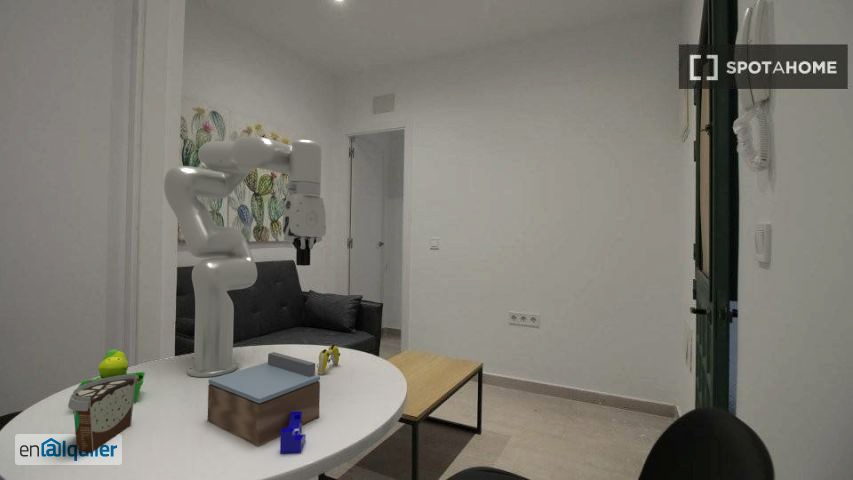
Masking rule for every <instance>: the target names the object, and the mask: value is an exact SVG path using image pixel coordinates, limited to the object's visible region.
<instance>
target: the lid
mask: <svg viewBox="0 0 853 480" xmlns="http://www.w3.org/2000/svg"><path fill="white" fill-rule="evenodd" d="M320 380H321V376H320V375H316V362H312V361H308V360H305V359H301V358H297V357H294V356H290V355H286V354H282V353H279V352H275V351H274V352H273V351H272V352H269V353H268V354H267V361H266V362H264V363H260V364H256V365H254V366H249V367H247V368H243V369H239V370H236V371H232V372H229V373H226V374H222V375H218V376H214V377H212V378H208V385H209V384H212V385H214V386H217V387H219V388H222V389H224V390H227V391H229V392H232V393H234V394H237V395H239V396H242V397H244V398H247V399H249V400H252V401H254V402H257V403H262V402H265V401H267V400H270V399H272V398H275V397H278V396H280V395H283V394H285V393H288V392H291V391H293V390H296V389H298V388H301V387H304V386H306V385H309V384H311V383H314V382H317V381H320Z"/></svg>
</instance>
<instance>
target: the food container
mask: <svg viewBox="0 0 853 480" xmlns="http://www.w3.org/2000/svg"><path fill="white" fill-rule="evenodd" d="M135 384H137V377H136V374H132V375H121V376H114V377H109V378H104V379H100V380H96V381H93V382H90V383H87V384H84V385H82V386H80V387H78V386H77V387H78V388H77V387H76V388H75V389H74V390H73V392H72V394H71V395H70V397H69V401H68V404H67V407H68V409H70V410H73V419H74V431H75V433H74V434H75V442H76V443H75V445H76V449H77V451H80V452H83V453H93V452H95V451H96V450H97V449H99V448H100V447H102V446H104V444H107V442H109V441H111V440H112V439H113V438H115V437H117V436H118V435H119V434H121V433H123V431H125V430H126V429H128V428H130V427H132V420H133V410H134V403H133V401H134V391H135Z"/></svg>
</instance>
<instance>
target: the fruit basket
mask: <svg viewBox="0 0 853 480" xmlns="http://www.w3.org/2000/svg"><path fill="white" fill-rule="evenodd" d="M102 359H103V360H102V361H101V362H100V363H99V365H98V366H97V367H98V368H97V369H98V372H99V376H98V377H96V378H92V379H85V380H83V381H81V382H80V384H78V386H77V387H76V388H78V387H80V386H82V385H84V384H87V383H90V382H93V381H96V380H100V379H104V378H109V377H114V376H121V375H132V374H136V377H137V384H135V391H134V401H133V404H135V403H136V402H138V398H139V394H140V391H141V388H142V385H143V383H144V380H145V376H146V372H145V371H140V372H139V371H138V372H131V373H130V372H129V373H128V372H127V371H128V368H129V362H128V360H127V359H126V354H125V353H124V352H123V351H120V349H111V350H109V351H107V352H106V354H105V356H104V357H103V358H102Z"/></svg>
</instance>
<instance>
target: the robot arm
mask: <svg viewBox="0 0 853 480" xmlns="http://www.w3.org/2000/svg"><path fill="white" fill-rule="evenodd" d="M197 157H198V160H199V162H200V163H201V165H203V167H204V168H201V167H195V166H191V165H190V166H188V165H179V166H178V165H177V166H174V167H172V168H170V169H168V171H167V172H166V174H165V176H164V183H163V189H164V196H165V198H166V201H167V203H168V205H169V207H170V208H171V210H172V212H173V213H174V215H175V217H176V219H177V221H178V224H179V226H180V230H181V233H182V235H183V238H184V241H185V244H186V246H187V249H188V251H189V253H190V254H191V256H193V257H195V258H198V259H202V260H200V261H199V262H197V263H196V264H195V265H194V266H193V268H192V271H191V281H192V287H193V291H194V305H195V307H194V311H195V314H194V320H195V321H194V349H193V351H194V353H193V354H192V355H191V358H192V359H193V364H192V365H190V366H189V367H187V370H186V373H187V375H188V376H191V377H195V378H196V377H197V378H206V377H207V378H208V377H209V378H210V377H218V376H222V375H225V374H229V373H232V372H235V370H236V371H237V369H238V368H239V361H237V360H235V359H233V354H234V352H233V350H234V322H235V321H234V320H235V319H234V316H235V315H234V314H235V310H234V302H233V300H232V299H231V296H230V295H229V294H228V291H234V290H242V289H247V288H251V287H252V286H253V285H254V284H255V283H256V281H257V279H258V268H257V265H256V262H255V259H254V256H253V255H252V251H251V249H250V247H249V243H248V242H247V241H248V240H247V239H246V237H245V235H244V234H243V232H241V231H240V230H239V229H237V228H235V227H232V226H231V227H230V226H219V225H218V224H216V223H215V221H214V220H213V217H212V216H213V215H212V213H211V211H210V210H209V209H208V208H207V206H206V205H205V204H204V203H203V202H201V200H199V199H198V198H205V199H206V198H207V199H215V200H221V199H226V198H228V197H229V196H230V195H232V193H233V192H235V190H236V189H237V188H238V187H239V186H240V185H241V184H242V182H243V181H244V180H245V179H246V178H247V177H248V176H249V174H250V172H252V171H253V170H254V169H256V168H257V169H262V170H266V171H270V172H275V173H279V174H284V175H288V183H286V184H285V189H286V190H288V194H287V195H286V197H285V201H284V206H283V207H284V208H283V214H282V233H283V240H284V241H286V242H289V243H291V244H292V245H293V247H294V249H295V251H296V264H295V265H296V266H310V265H311V250H313V249H314V245H316V243H321V242H322V241H323V237H324V236H325V235H326V231H327V224H326V223H327V222H326V220H327V219H326V209H325V207H326V206H325V203H324V198H322V197H321V193H322V190H321V189H322V188H321V187H322V185H321V184H322V182H321V179H322V147H321V145H320V143H318V142H317V141H313V140H311V139H295V140H293V141H292V142H291V143H290V144H287V143H284V142H281V141H277V140H276V139H272V138H268V137H263V136H241V137H238V138H237V139H236V140H211V141H207V142H204V143H203V144H201V146H200V147H199V149H198V151H197ZM197 197H198V198H197Z"/></svg>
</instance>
